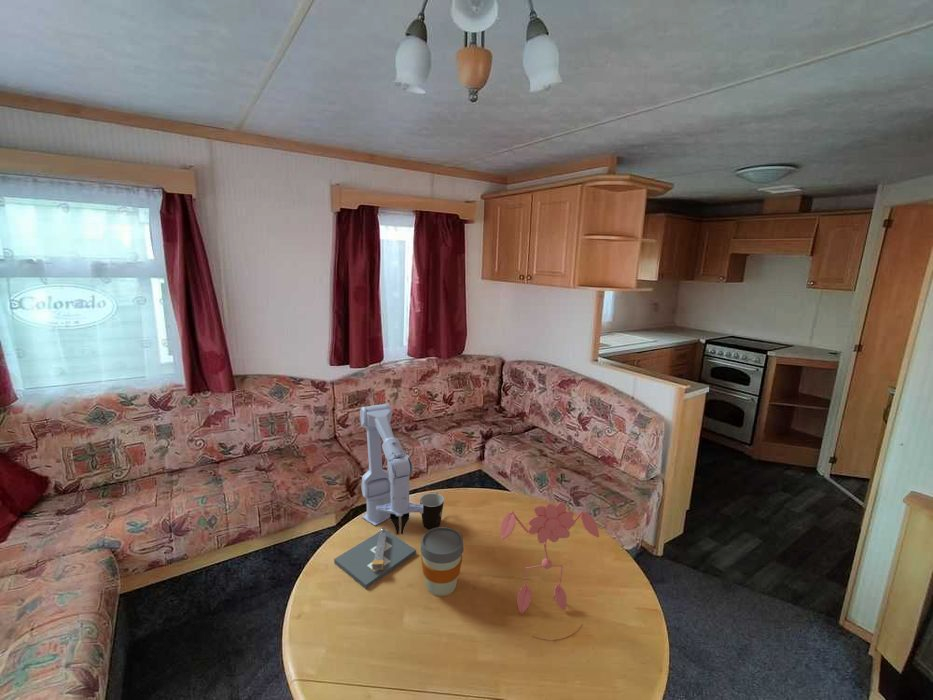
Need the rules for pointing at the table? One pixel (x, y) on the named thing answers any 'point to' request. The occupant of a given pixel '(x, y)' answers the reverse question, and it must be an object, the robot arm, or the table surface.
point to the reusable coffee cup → (441, 559)
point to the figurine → (548, 526)
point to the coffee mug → (432, 510)
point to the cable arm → (379, 552)
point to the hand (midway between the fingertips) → (400, 532)
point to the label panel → (363, 554)
